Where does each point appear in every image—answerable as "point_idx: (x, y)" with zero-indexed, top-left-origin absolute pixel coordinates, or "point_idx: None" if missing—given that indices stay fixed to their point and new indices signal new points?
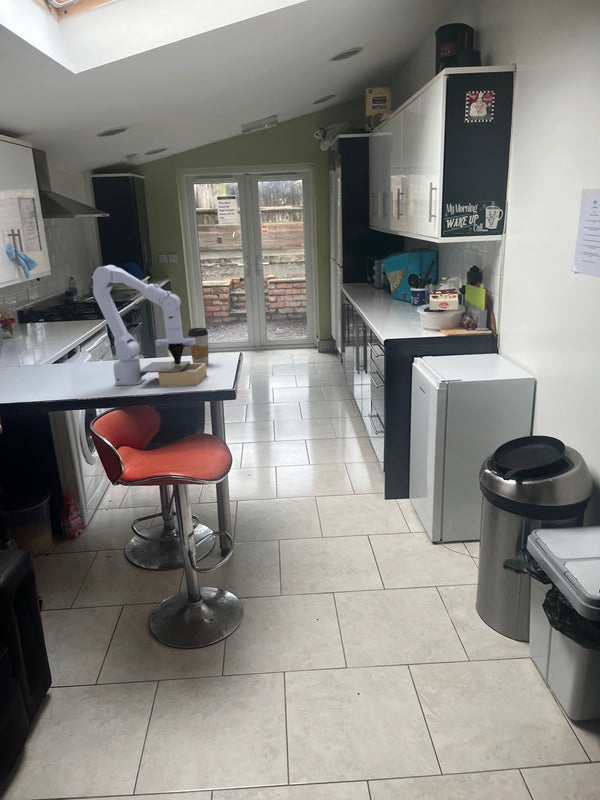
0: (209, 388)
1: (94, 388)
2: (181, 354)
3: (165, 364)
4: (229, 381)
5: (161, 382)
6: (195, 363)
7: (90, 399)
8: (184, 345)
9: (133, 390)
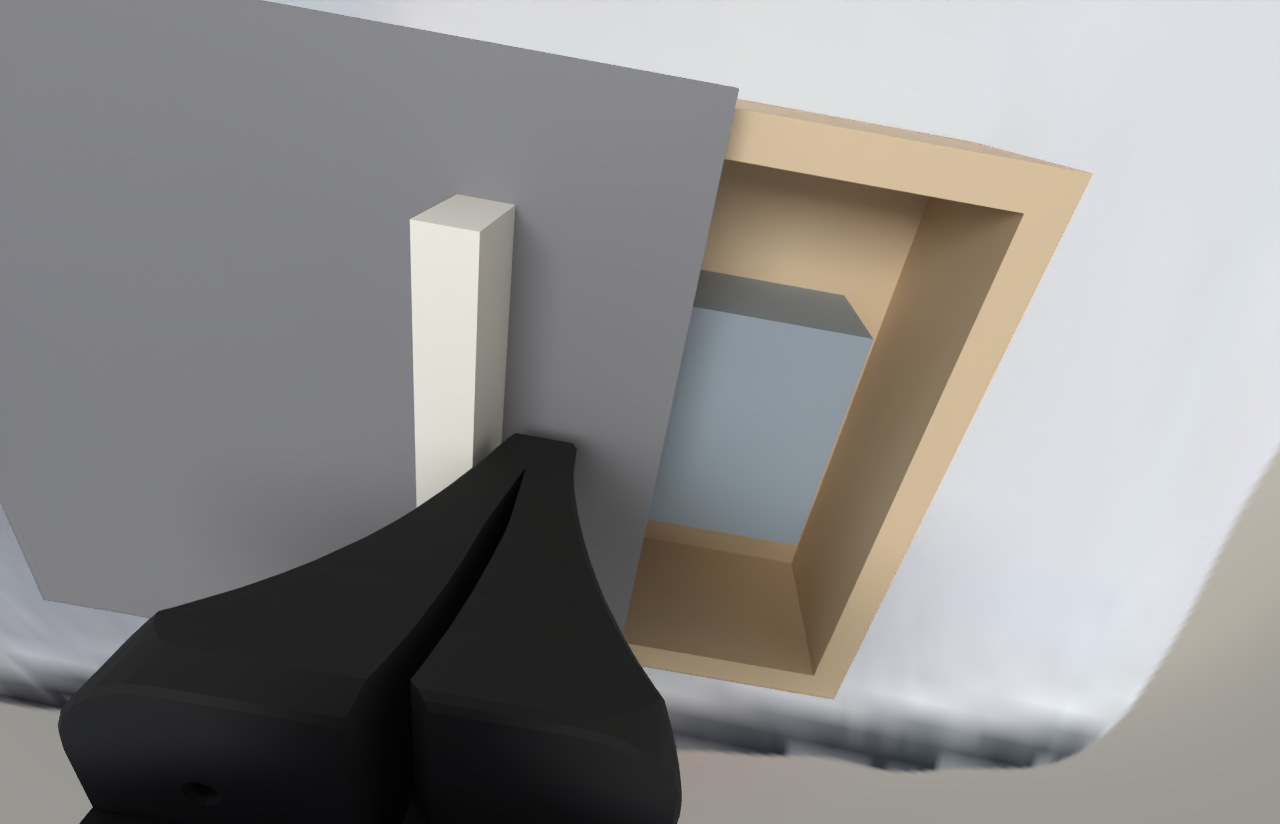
0: (929, 678)
1: None
2: (582, 552)
3: (244, 287)
4: (1202, 515)
5: None
6: (855, 135)
7: (7, 696)
8: (673, 750)
9: None
